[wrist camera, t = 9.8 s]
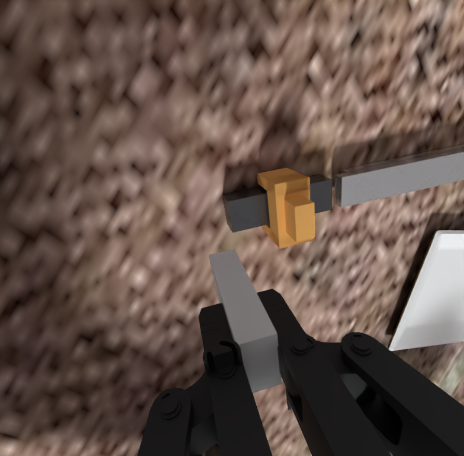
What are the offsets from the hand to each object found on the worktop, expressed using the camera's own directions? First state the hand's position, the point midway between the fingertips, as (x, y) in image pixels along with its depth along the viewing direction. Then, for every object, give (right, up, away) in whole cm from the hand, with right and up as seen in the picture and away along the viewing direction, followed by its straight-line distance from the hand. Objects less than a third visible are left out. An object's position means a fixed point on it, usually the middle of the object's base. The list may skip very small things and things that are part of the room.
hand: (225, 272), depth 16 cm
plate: (+32, -6, +24) cm, 40 cm away
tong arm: (+23, +9, +13) cm, 28 cm away
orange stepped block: (+4, +6, +11) cm, 13 cm away
